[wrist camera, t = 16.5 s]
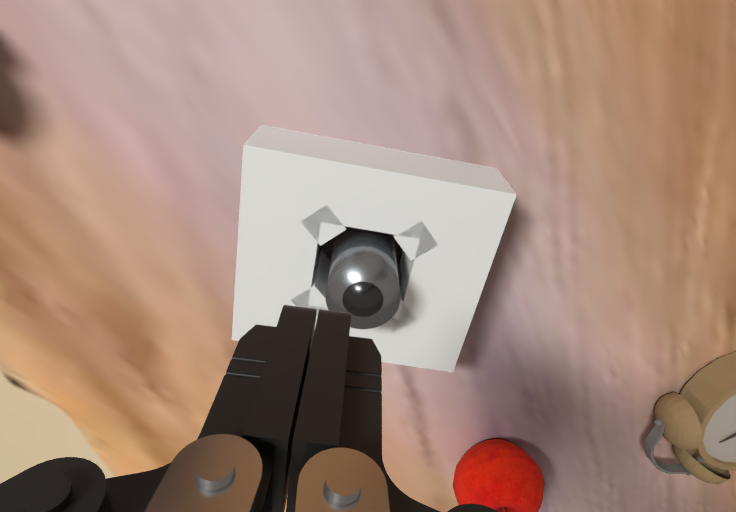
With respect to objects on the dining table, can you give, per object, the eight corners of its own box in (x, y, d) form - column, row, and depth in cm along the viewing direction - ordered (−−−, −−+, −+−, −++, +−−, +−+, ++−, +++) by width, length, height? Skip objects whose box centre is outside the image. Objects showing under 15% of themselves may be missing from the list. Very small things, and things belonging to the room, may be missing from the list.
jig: (496, 168, 32) (516, 194, 28) (443, 330, 39) (452, 372, 34) (261, 124, 31) (243, 144, 26) (248, 299, 37) (231, 339, 33)
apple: (491, 406, 43) (513, 478, 36) (547, 444, 45) (577, 519, 39) (430, 451, 46) (440, 526, 39) (486, 485, 48) (504, 561, 42)
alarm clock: (850, 427, 40) (695, 520, 42) (794, 391, 45) (657, 476, 46) (820, 343, 36) (650, 451, 38) (761, 312, 40) (612, 409, 42)
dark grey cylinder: (399, 216, 34) (407, 273, 27) (388, 268, 36) (392, 335, 29) (339, 206, 33) (330, 262, 26) (330, 259, 36) (321, 324, 28)
